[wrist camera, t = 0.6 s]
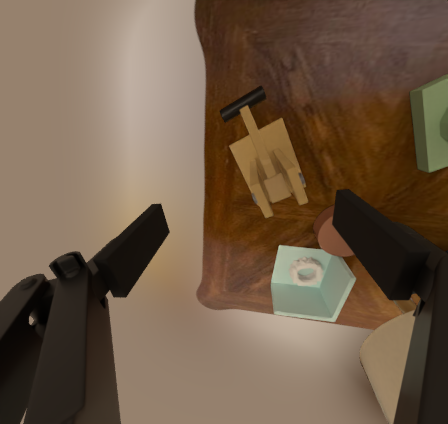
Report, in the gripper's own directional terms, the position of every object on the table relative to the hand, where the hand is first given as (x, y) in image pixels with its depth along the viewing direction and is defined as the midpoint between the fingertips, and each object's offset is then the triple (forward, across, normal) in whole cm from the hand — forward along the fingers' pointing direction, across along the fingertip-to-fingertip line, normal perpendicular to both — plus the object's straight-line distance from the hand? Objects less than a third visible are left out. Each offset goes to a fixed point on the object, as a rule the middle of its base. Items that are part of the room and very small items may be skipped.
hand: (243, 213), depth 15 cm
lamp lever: (+12, +2, +2) cm, 12 cm away
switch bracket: (+21, +4, -2) cm, 21 cm away
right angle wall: (+21, +10, -26) cm, 35 cm away
